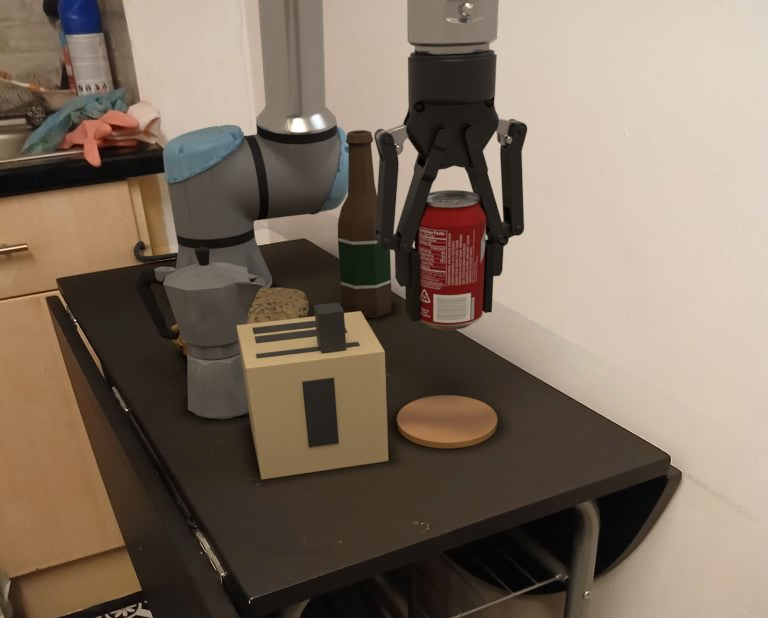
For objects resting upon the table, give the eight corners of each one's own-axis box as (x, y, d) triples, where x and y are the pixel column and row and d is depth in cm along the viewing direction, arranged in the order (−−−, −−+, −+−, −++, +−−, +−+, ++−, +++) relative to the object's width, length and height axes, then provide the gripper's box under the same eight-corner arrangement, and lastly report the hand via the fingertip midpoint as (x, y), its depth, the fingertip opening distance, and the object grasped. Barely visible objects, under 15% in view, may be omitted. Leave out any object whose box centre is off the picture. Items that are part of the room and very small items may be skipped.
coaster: (386, 408, 90) (386, 402, 90) (478, 395, 92) (478, 389, 92) (411, 455, 81) (410, 448, 81) (511, 440, 83) (512, 433, 83)
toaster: (251, 428, 87) (236, 324, 80) (366, 413, 90) (360, 309, 83) (261, 480, 78) (245, 367, 71) (389, 461, 81) (385, 350, 74)
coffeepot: (293, 389, 95) (277, 237, 85) (263, 426, 88) (241, 264, 77) (178, 378, 99) (149, 231, 89) (139, 413, 91) (103, 256, 81)
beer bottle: (332, 316, 115) (319, 136, 101) (353, 298, 121) (344, 125, 107) (381, 322, 112) (375, 138, 99) (401, 303, 118) (397, 127, 105)
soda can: (478, 335, 77) (483, 206, 70) (410, 332, 78) (408, 205, 71) (485, 310, 82) (490, 188, 75) (421, 308, 83) (420, 188, 77)
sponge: (205, 389, 99) (340, 323, 104) (179, 331, 95) (320, 266, 101) (179, 370, 110) (302, 312, 115) (154, 317, 106) (283, 259, 111)
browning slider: (317, 343, 76) (313, 304, 73) (341, 340, 76) (339, 301, 74) (321, 352, 74) (318, 313, 72) (346, 349, 74) (344, 310, 72)
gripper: (345, 58, 62) (360, 337, 75) (580, 44, 65) (555, 313, 78) (329, 51, 68) (345, 310, 81) (544, 39, 71) (526, 289, 84)
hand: (448, 311), depth 80 cm, fingers closed on soda can, 7 cm apart
